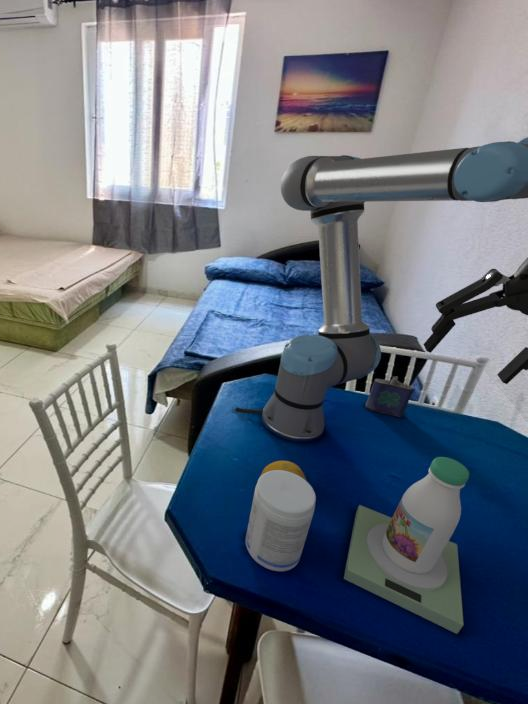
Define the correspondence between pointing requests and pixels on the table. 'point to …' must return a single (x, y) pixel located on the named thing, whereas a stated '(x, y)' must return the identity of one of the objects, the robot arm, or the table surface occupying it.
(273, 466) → the fruit
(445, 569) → the scale
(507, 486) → the table surface
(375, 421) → the table surface
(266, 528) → the supplement tub
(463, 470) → the milk bottle
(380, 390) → the flask
